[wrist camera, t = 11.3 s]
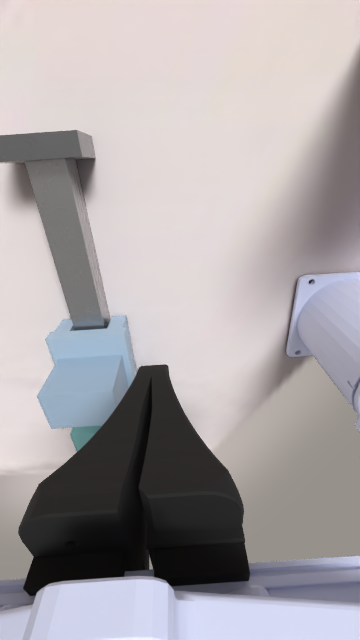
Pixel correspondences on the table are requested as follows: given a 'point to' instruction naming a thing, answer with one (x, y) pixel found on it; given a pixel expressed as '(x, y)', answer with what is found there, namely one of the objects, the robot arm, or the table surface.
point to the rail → (64, 216)
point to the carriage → (87, 373)
